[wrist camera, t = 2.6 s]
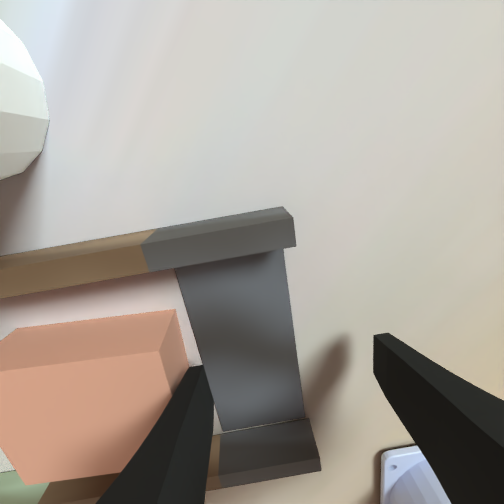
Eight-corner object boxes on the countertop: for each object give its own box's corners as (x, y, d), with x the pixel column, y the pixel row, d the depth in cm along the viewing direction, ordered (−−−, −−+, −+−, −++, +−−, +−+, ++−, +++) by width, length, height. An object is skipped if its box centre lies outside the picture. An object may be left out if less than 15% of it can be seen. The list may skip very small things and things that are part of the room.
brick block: (199, 401, 14) (190, 462, 11) (68, 418, 14) (25, 485, 11) (177, 305, 12) (158, 350, 9) (21, 324, 12) (-46, 376, 9)
